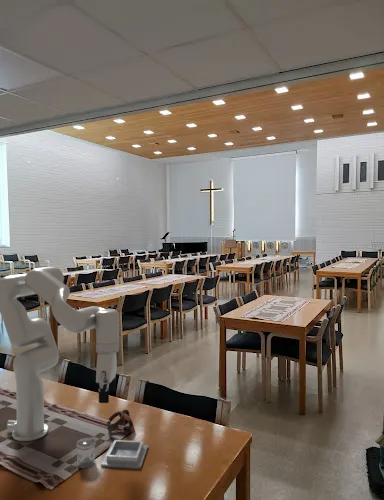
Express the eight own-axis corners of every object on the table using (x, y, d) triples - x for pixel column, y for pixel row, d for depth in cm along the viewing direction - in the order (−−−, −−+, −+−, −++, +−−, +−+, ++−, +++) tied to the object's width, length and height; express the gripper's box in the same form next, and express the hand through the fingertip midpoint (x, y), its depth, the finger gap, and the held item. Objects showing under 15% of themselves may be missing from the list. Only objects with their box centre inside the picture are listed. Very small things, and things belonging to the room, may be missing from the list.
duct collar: (101, 466, 130) (101, 458, 130) (111, 445, 143) (111, 437, 143) (140, 468, 129) (140, 460, 129) (147, 447, 142) (147, 439, 142)
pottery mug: (133, 438, 149) (122, 422, 147) (112, 447, 150) (100, 430, 149) (139, 416, 160) (129, 400, 158) (119, 424, 162) (109, 408, 160)
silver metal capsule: (73, 468, 129) (73, 446, 129) (80, 457, 135) (80, 437, 135) (91, 469, 129) (92, 447, 128) (97, 458, 135) (97, 438, 134)
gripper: (103, 339, 143) (103, 386, 144) (89, 354, 126) (89, 407, 127) (123, 339, 143) (123, 386, 144) (112, 354, 126) (112, 408, 127)
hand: (107, 396), depth 135 cm, fingers open, 9 cm apart
